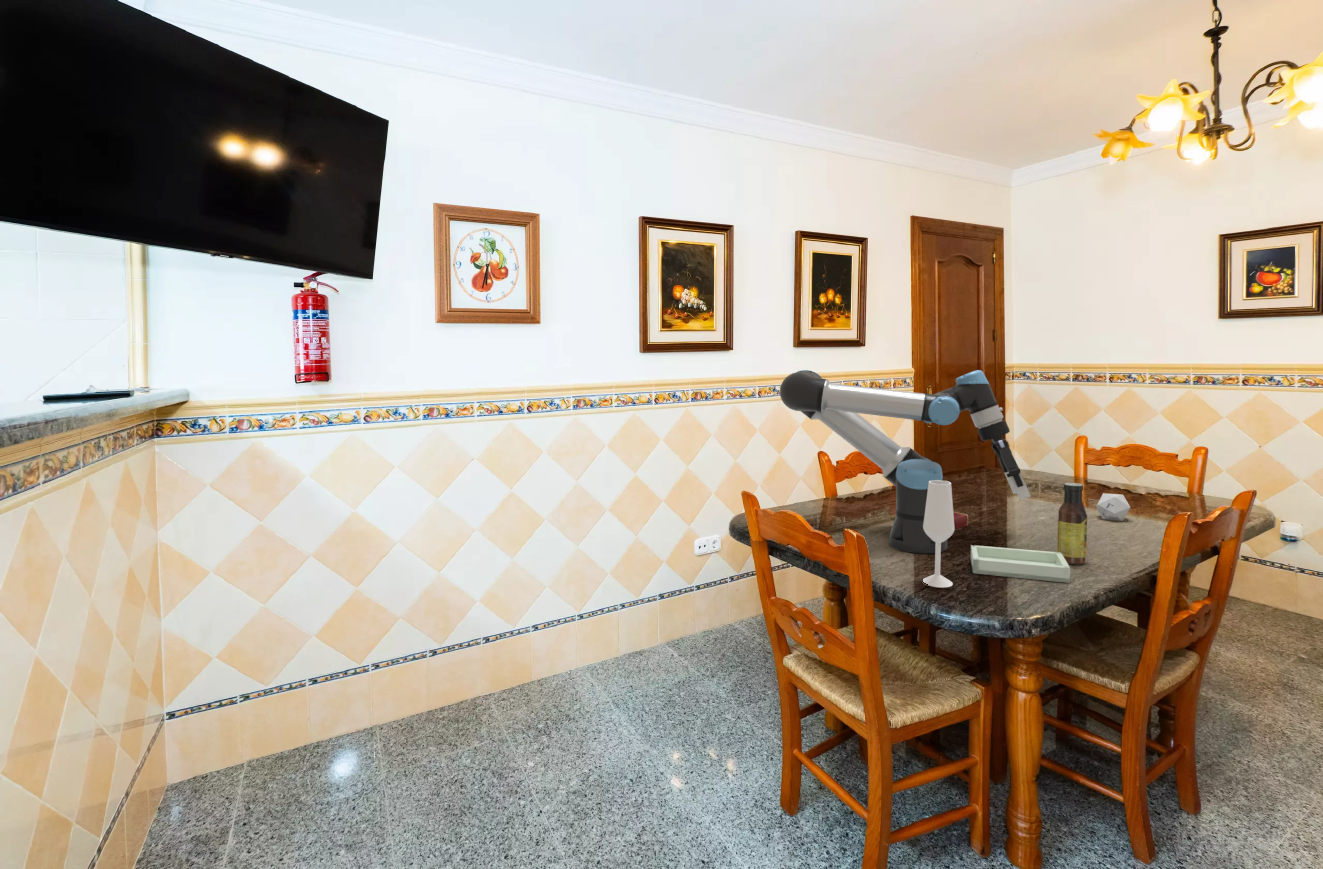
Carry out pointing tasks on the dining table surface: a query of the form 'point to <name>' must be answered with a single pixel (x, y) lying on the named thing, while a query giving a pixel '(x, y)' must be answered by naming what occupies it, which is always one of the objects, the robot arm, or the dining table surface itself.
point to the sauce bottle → (1072, 525)
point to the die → (1113, 507)
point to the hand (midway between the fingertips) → (1022, 495)
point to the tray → (1020, 563)
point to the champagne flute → (938, 524)
